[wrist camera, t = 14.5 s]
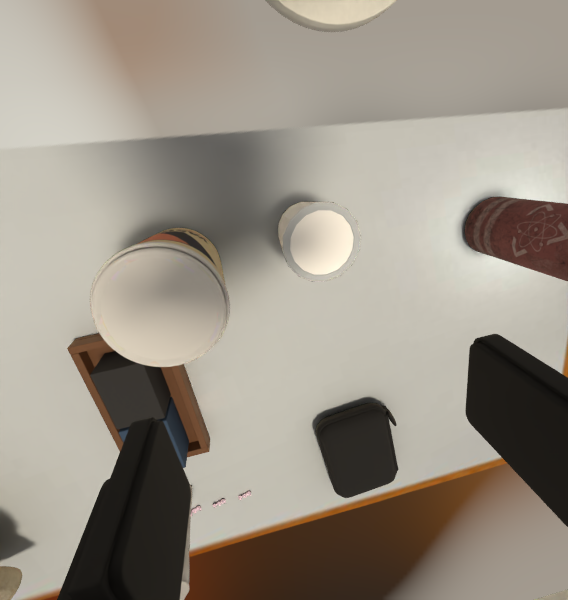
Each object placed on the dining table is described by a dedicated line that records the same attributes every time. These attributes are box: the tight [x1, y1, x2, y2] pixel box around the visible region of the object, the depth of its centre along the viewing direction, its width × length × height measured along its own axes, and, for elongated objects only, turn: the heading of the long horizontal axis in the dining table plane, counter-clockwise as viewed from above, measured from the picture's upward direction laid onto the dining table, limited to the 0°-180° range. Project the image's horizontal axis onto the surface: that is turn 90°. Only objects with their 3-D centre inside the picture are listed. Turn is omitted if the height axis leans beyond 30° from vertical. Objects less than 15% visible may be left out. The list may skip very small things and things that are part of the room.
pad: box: [90, 351, 171, 430], centre depth 35 cm, size 7×5×4 cm
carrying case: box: [316, 403, 398, 498], centre depth 45 cm, size 11×3×15 cm
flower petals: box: [191, 491, 251, 516], centre depth 46 cm, size 15×2×1 cm, turn 102°
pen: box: [180, 486, 192, 600], centre depth 38 cm, size 2×3×14 cm
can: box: [464, 197, 568, 281], centre depth 31 cm, size 6×6×14 cm
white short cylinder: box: [278, 202, 361, 282], centre depth 31 cm, size 7×7×7 cm
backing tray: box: [67, 333, 210, 457], centre depth 37 cm, size 18×10×2 cm, turn 10°
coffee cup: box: [90, 228, 230, 367], centre depth 28 cm, size 9×9×12 cm
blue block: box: [119, 397, 189, 468], centre depth 38 cm, size 7×5×4 cm
